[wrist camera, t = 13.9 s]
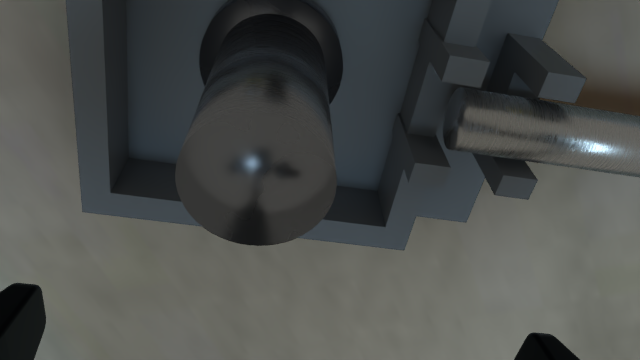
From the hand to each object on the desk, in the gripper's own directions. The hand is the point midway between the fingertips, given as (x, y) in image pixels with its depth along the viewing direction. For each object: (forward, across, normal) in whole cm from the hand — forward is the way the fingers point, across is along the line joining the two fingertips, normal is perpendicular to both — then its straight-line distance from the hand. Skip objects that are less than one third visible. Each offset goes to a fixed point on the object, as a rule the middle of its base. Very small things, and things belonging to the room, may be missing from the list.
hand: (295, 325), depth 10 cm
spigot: (+11, +1, -1) cm, 11 cm away
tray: (+12, -1, -1) cm, 12 cm away
